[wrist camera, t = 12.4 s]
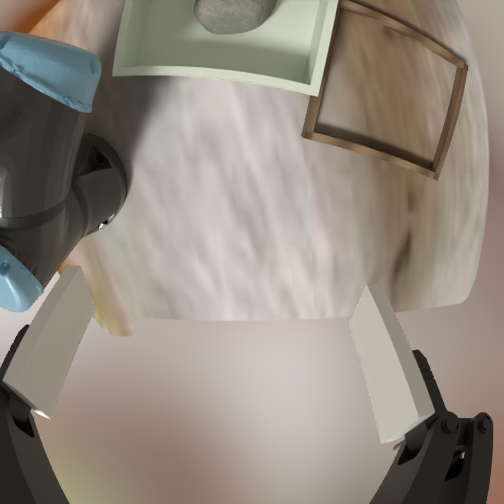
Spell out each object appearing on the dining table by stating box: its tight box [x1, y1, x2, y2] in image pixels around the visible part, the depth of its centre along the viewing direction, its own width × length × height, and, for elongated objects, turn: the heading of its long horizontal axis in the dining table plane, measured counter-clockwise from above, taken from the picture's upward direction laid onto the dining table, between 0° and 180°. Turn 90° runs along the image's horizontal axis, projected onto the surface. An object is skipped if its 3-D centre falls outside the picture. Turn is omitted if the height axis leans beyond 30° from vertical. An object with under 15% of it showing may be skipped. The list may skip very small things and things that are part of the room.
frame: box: [301, 0, 468, 181], centre depth 27 cm, size 22×20×2 cm
